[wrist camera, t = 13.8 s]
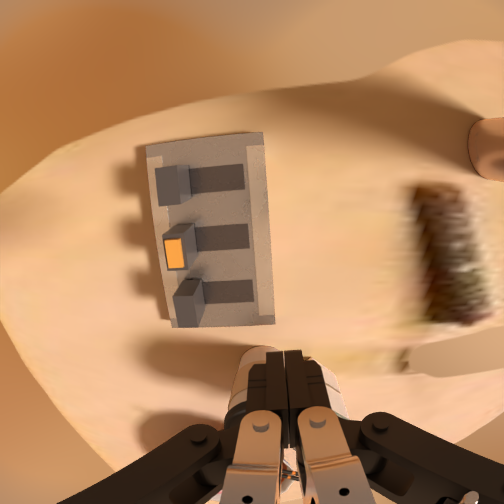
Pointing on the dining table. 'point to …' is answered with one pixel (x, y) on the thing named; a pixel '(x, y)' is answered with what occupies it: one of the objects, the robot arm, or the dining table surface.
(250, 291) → the panel
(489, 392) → the dining table surface
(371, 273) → the dining table surface
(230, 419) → the coffee cup
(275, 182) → the dining table surface
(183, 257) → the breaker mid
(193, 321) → the block
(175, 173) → the block
